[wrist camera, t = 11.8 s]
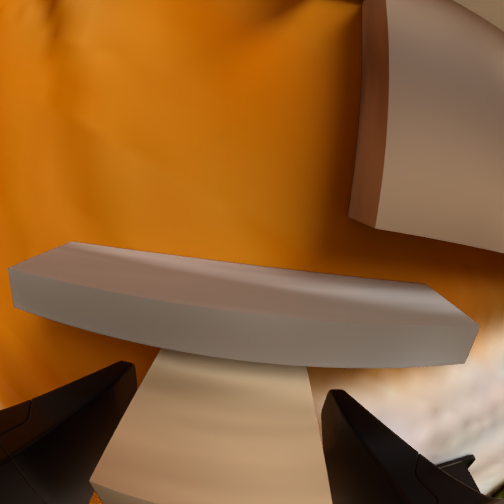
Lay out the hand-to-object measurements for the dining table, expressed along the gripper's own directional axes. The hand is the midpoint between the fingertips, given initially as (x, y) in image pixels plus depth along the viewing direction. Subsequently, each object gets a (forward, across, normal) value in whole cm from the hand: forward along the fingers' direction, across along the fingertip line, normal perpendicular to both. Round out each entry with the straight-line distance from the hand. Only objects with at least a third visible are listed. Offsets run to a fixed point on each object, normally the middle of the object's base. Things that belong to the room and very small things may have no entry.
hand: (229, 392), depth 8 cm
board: (+2, -10, -9) cm, 14 cm away
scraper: (+2, 0, +1) cm, 3 cm away
